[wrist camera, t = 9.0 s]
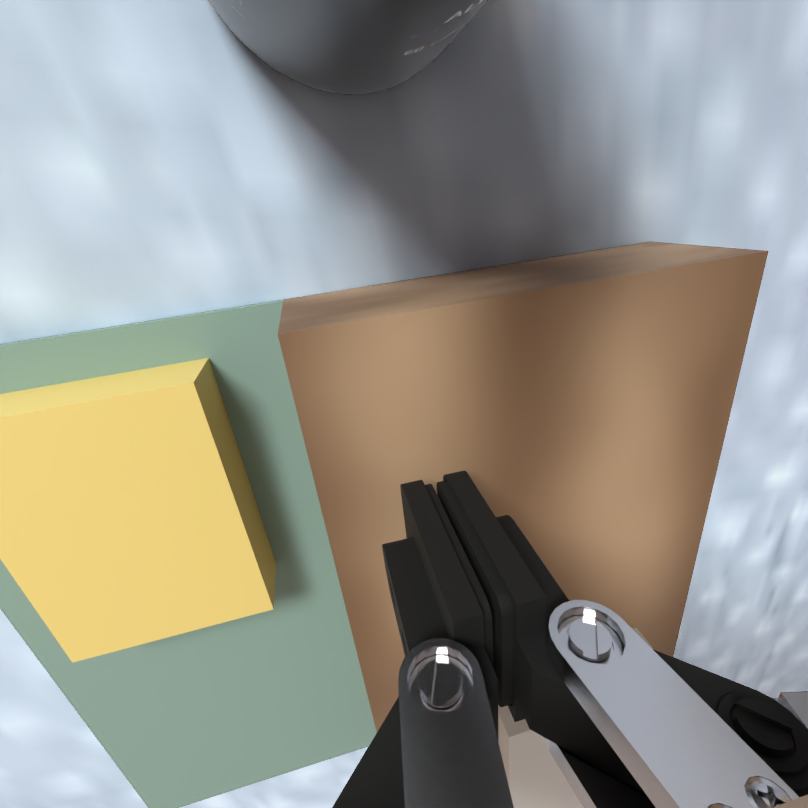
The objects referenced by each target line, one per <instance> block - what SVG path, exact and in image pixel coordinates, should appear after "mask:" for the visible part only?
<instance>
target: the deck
mask: <svg viewBox="0 0 808 808" xmlns="http://www.w3.org/2000/svg"><path fill="white" fill-rule="evenodd" d="M767 254H768V251H760V250H748V249H735V248H723V247H710V246H697V245H685V244H672V243H659V242H645V243H639V244H633V245H626V246H620V247H614V248H607V249H601V250H595V251H588V252H582V253H576V254H569V255H563V256H557V257H550V258H544V259H538V260H531V261H525V262H519V263H512V264H506V265H500V266H493V267H487V268H481V269H474V270H468V271H462V272H455V273H449V274H443V275H436V276H430V277H424V278H417V279H411V280H405V281H398V282H392V283H386V284H379V285H373V286H367V287H360V288H354V289H348V290H341V291H335V292H329V293H322V294H316V295H310V296H303V297H297V298H291V299H284V300H283V305H282V311H281V317H280V323H279V329H278V338H279V342H280V346H281V350H282V354H283V358H284V362H285V366H286V370H287V374H288V378H289V382H290V386H291V390H292V394H293V398H294V402H295V406H296V410H297V414H298V418H299V422H300V426H301V430H302V435H303V439H304V443H305V447H306V451H307V455H308V459H309V463H310V467H311V471H312V475H313V479H314V483H315V487H316V491H317V495H318V499H319V503H320V507H321V511H322V515H323V519H324V523H325V527H326V531H327V535H328V539H329V543H330V547H331V551H332V555H333V559H334V563H335V567H336V571H337V575H338V579H339V583H340V587H341V591H342V595H343V599H344V603H345V607H346V611H347V615H348V619H349V623H350V627H351V631H352V635H353V639H354V643H355V647H356V651H357V655H358V659H359V663H360V667H361V671H362V675H363V679H364V683H365V687H366V691H367V695H368V699H369V703H370V707H371V711H372V715H373V719H374V723H375V727H376V731H377V732H378V730H379V728H380V727H381V725H382V723H383V722H384V720H385V718H386V717H387V715H388V713H389V712H390V710H391V708H392V707H393V705H394V703H395V701H396V700H397V698H398V696H399V690H398V678H399V669H400V667H401V665H402V662H403V660H404V658H405V654H404V650H403V646H402V641H401V637H400V633H399V629H398V625H397V620H396V616H395V612H394V608H393V603H392V599H391V594H390V590H389V585H388V580H387V574H386V569H385V562H384V556H383V550H382V544H386V543H390V542H394V541H398V540H403V539H407V537H406V529H405V521H404V513H403V505H402V497H401V489H400V485H401V484H404V483H408V482H413V481H418V480H423V482H424V484H425V485H427V484H432V485H433V487H434V489H435V491H436V494H437V482H441V481H443V476H444V475H445V474H450V473H455V472H459V471H466V472H467V473H468V475H469V476H470V478H471V479H472V481H473V482H474V484H475V485H476V487H477V489H478V490H479V492H480V493H481V495H482V496H483V498H484V500H485V501H486V503H487V504H488V506H489V507H490V509H491V511H492V512H493V514H494V515H495V517H500V516H504V515H509V516H510V517H511V518H512V519H513V520H514V521H515V523H516V524H517V526H518V527H519V528H520V530H521V531H522V533H523V534H524V536H525V537H526V539H527V540H528V542H529V543H530V544H531V546H532V547H533V549H534V550H535V552H536V553H537V555H538V556H539V557H540V559H541V560H542V562H543V563H544V565H545V566H546V568H547V569H548V570H549V572H550V573H551V575H552V576H553V578H554V579H555V581H556V582H557V584H558V585H559V586H560V588H561V589H562V591H563V592H564V594H565V595H566V597H567V598H568V599H569V601H572V600H587V601H591V602H595V603H599V604H601V605H603V606H605V607H607V608H609V609H611V610H612V611H613V612H615V613H616V614H617V615H618V616H620V617H621V618H622V619H623V620H624V621H625V622H626V623H627V624H628V625H629V626H630V627H631V628H632V629H633V628H637V629H638V630H639V632H640V633H641V634H642V635H643V637H644V638H645V639H646V640H647V641H648V643H649V644H650V645H651V646H652V648H653V649H654V650H656V651H658V652H661V653H663V654H666V655H668V656H671V657H673V654H674V650H675V646H676V641H677V637H678V633H679V629H680V624H681V620H682V616H683V612H684V607H685V603H686V599H687V595H688V590H689V586H690V582H691V578H692V573H693V569H694V565H695V561H696V556H697V552H698V548H699V544H700V539H701V535H702V531H703V527H704V522H705V518H706V514H707V510H708V505H709V501H710V497H711V493H712V488H713V484H714V480H715V476H716V471H717V467H718V463H719V459H720V454H721V450H722V446H723V442H724V437H725V433H726V429H727V425H728V420H729V416H730V412H731V408H732V403H733V399H734V395H735V390H736V386H737V382H738V378H739V373H740V369H741V365H742V361H743V356H744V352H745V348H746V344H747V339H748V335H749V331H750V327H751V322H752V318H753V314H754V310H755V305H756V301H757V297H758V293H759V288H760V284H761V280H762V276H763V271H764V267H765V263H766V259H767Z"/></svg>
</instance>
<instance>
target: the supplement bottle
mask: <svg viewBox="0 0 808 808" xmlns="http://www.w3.org/2000/svg"><path fill="white" fill-rule="evenodd" d="M487 1H488V0H209V2H210V3H211V5H212V6H213V8H214V9H215V10H216V12H217V13H218V14H219V16H220V17H221V19H222V20H223V21H224V23H225V24H226V25H227V26H228V27H229V28H230V30H231V31H232V32H233V33H234V34H235V35H236V37H237V38H238V39H239V40H240V41H241V42H242V43H243V44H244V45H245V46H246V47H248V48H249V49H250V50H251V51H252V52H253V53H254V54H255V55H257V56H258V57H259V58H260V59H261V60H263V61H264V62H265V63H267V64H268V65H269V66H271V67H272V68H274V69H275V70H277V71H278V72H280V73H282V74H283V75H285V76H287V77H289V78H290V79H292V80H294V81H297V82H299V83H301V84H303V85H306V86H309V87H312V88H315V89H318V90H321V91H326V92H331V93H337V94H366V93H373V92H377V91H381V90H385V89H388V88H390V87H393V86H395V85H398V84H400V83H402V82H404V81H405V80H407V79H409V78H411V77H412V76H414V75H415V74H417V73H418V72H419V71H421V70H422V69H424V68H425V67H426V66H427V65H428V64H430V63H431V62H432V61H433V60H434V59H435V58H436V57H437V56H438V55H439V54H440V53H441V52H442V51H443V50H444V49H445V48H446V47H447V46H448V45H449V44H450V43H451V41H452V40H453V39H454V38H455V37H456V36H457V35H458V34H459V33H460V31H461V30H462V29H463V28H464V27H465V26H466V25H467V24H468V22H469V21H470V20H471V19H472V18H473V17H474V16H475V15H476V13H477V12H478V11H479V10H480V9H481V8H482V7H483V5H484V4H485V3H486V2H487Z"/></svg>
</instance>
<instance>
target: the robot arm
mask: <svg viewBox="0 0 808 808" xmlns="http://www.w3.org/2000/svg"><path fill="white" fill-rule="evenodd" d="M400 489H401V497H402V505H403V513H404V521H405V529H406V537H407V539H403V540H398V541H394V542H390V543H386V544H382V550H383V556H384V562H385V569H386V574H387V580H388V585H389V590H390V594H391V599H392V603H393V608H394V612H395V616H396V620H397V625H398V629H399V633H400V637H401V641H402V646H403V650H404V654H405V658H404V660H403V662H402V665H401V667H400V669H399V678H398V690H399V696H398V698H397V700H396V701H395V703H394V705H393V707H392V708H391V710H390V712H389V713H388V715H387V717H386V718H385V720H384V722H383V723H382V725H381V727H380V728H379V730H378V732H377V733H376V735H375V737H374V739H373V740H372V742H371V744H370V745H369V747H368V749H367V750H366V752H365V754H364V755H363V757H362V759H361V760H360V762H359V764H358V765H357V767H356V769H355V770H354V772H353V774H352V776H351V777H350V779H349V781H348V782H347V784H346V786H345V787H344V789H343V791H342V792H341V794H340V796H339V797H338V799H337V801H336V802H335V804H334V806H333V808H514V806H513V802H512V798H511V793H510V789H509V785H508V781H507V776H506V772H505V768H504V764H503V759H502V755H501V751H500V747H499V743H498V739H499V736H498V705H499V706H500V707H504V706H508V708H509V710H510V712H511V715H512V717H513V719H514V722H517V721H520V720H523V719H525V720H526V722H527V724H528V727H529V729H530V730H532V731H534V732H536V733H537V734H539V735H541V736H543V738H544V741H545V743H546V745H547V748H548V750H549V752H550V753H551V755H552V757H553V758H554V760H555V761H556V763H557V765H558V766H559V768H560V770H561V771H562V773H563V775H564V776H565V778H566V780H567V781H568V783H569V784H570V786H571V788H572V789H573V791H574V793H575V794H576V796H577V798H578V799H579V801H580V803H581V804H582V806H583V807H584V808H808V691H805V692H781V693H780V695H779V698H770V697H768V696H766V695H764V694H763V693H761V692H759V691H757V690H754V689H751V688H749V687H746V686H744V685H741V684H739V683H736V682H734V681H731V680H729V679H726V678H724V677H721V676H719V675H716V674H714V673H711V672H709V671H706V670H704V669H701V668H699V667H696V666H694V665H691V664H689V663H686V662H684V661H681V660H679V659H676V658H673V657H671V656H668V655H666V654H663V653H661V652H658V651H656V650H653V649H652V648H651V647H650V646H649V645H648V644H647V643H646V642H645V641H644V640H643V639H642V638H641V637H640V636H639V635H638V634H637V633H636V632H635V631H634V630H633V629H632V628H631V627H630V626H629V625H628V624H627V623H626V622H625V621H624V620H623V619H622V618H621V617H620V616H618V615H617V614H616V613H615V612H613V611H612V610H611V609H609V608H607V607H605V606H603V605H601V604H599V603H595V602H591V601H587V600H572V601H569V599H568V598H567V597H566V595H565V594H564V592H563V591H562V589H561V588H560V586H559V585H558V584H557V582H556V581H555V579H554V578H553V576H552V575H551V573H550V572H549V570H548V569H547V568H546V566H545V565H544V563H543V562H542V560H541V559H540V557H539V556H538V555H537V553H536V552H535V550H534V549H533V547H532V546H531V544H530V543H529V542H528V540H527V539H526V537H525V536H524V534H523V533H522V531H521V530H520V528H519V527H518V526H517V524H516V523H515V521H514V520H513V519H512V518H511V517H510V516H509V515H504V516H500V517H495V515H494V514H493V512H492V511H491V509H490V507H489V506H488V504H487V503H486V501H485V500H484V498H483V496H482V495H481V493H480V492H479V490H478V489H477V487H476V485H475V484H474V482H473V481H472V479H471V478H470V476H469V475H468V473H467V472H466V471H459V472H455V473H450V474H445V475H444V476H443V481H441V482H437V494H436V491H435V489H434V487H433V485H432V484H427V485H425V484H424V482H423V480H418V481H413V482H408V483H404V484H401V485H400Z"/></svg>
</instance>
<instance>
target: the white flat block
mask: <svg viewBox="0 0 808 808" xmlns="http://www.w3.org/2000/svg"><path fill="white" fill-rule="evenodd" d="M633 630H634V631H635V632H636V633H637V634H638V635H639V636H640V637H641V638H642V639H643V640H644V641H645V642H646V643H647V644H648V645H649V646H650V647H651V648H652V646H651V645H650V644H649V643H648V641H647V640H646V639H645V638H644V637H643V635H642V634H641V633H640V632H639V630H638V629H637V628H633ZM652 649H653V648H652ZM653 650H654V649H653ZM498 736H499V739H498V743H499V747H500V751H501V755H502V759H503V764H504V768H505V772H506V776H507V781H508V785H509V789H510V793H511V798H512V802H513V806H514V808H584V807H583V806H582V804H581V803H580V801H579V799H578V798H577V796H576V794H575V793H574V791H573V789H572V788H571V786H570V784H569V783H568V781H567V780H566V778H565V776H564V775H563V773H562V771H561V770H560V768H559V766H558V765H557V763H556V761H555V760H554V758H553V757H552V755H551V753H550V752H549V750H548V748H547V745H546V743H545V741H544V738H543V736H541V735H539V734H537V733H536V732H534V731H532V730H530V729H529V727H528V724H527V722H526V720H525V719H523V720H520V721H517V722H514V719H513V717H512V715H511V712H510V710H509V708H508V706H504V707H500V706H499V705H498Z"/></svg>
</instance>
